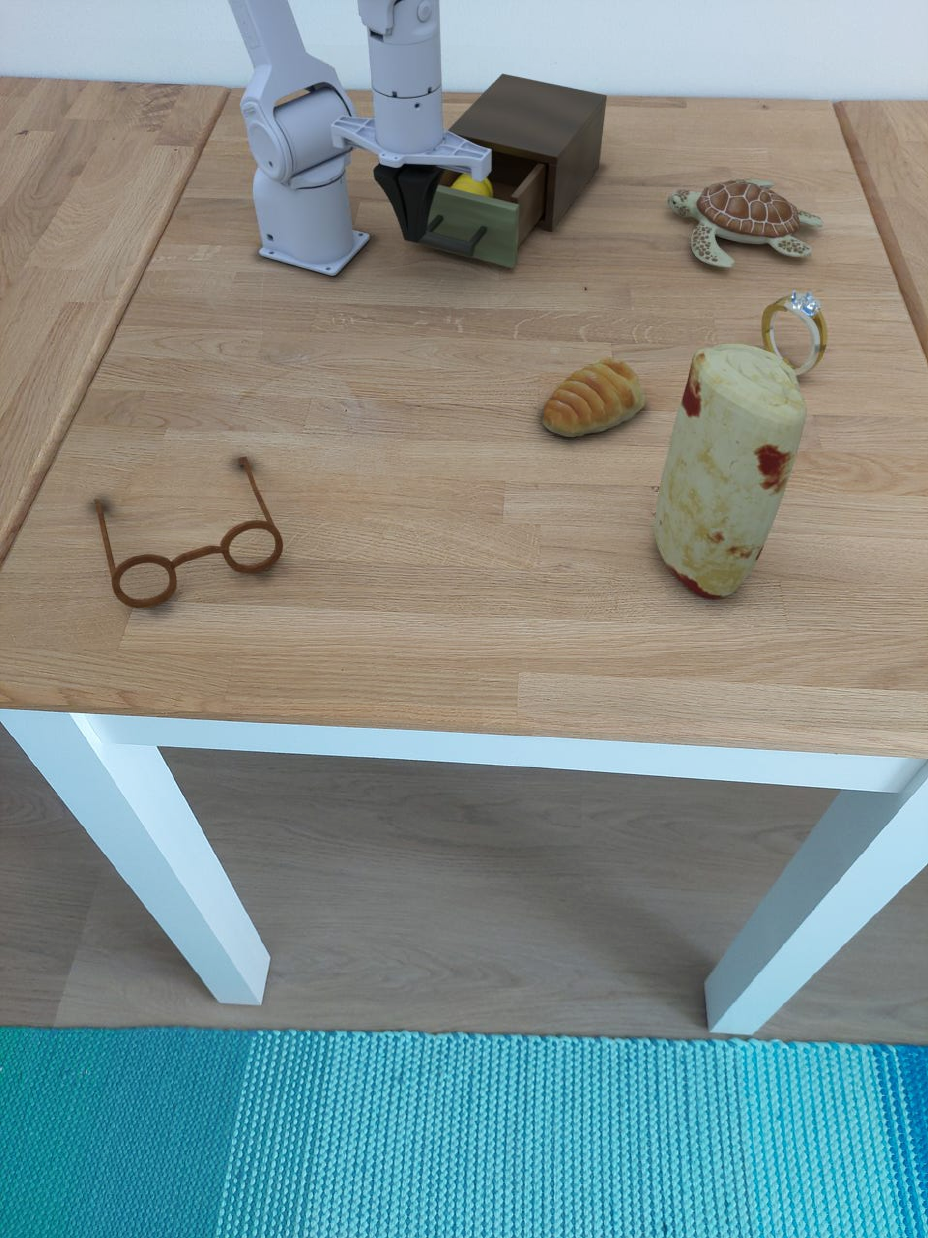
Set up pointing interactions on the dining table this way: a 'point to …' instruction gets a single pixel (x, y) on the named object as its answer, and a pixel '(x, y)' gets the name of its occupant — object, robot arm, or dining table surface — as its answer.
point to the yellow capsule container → (473, 186)
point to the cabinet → (541, 133)
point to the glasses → (191, 552)
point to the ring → (808, 314)
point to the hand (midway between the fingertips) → (415, 236)
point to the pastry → (594, 399)
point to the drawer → (489, 211)
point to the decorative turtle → (741, 219)
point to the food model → (727, 465)
